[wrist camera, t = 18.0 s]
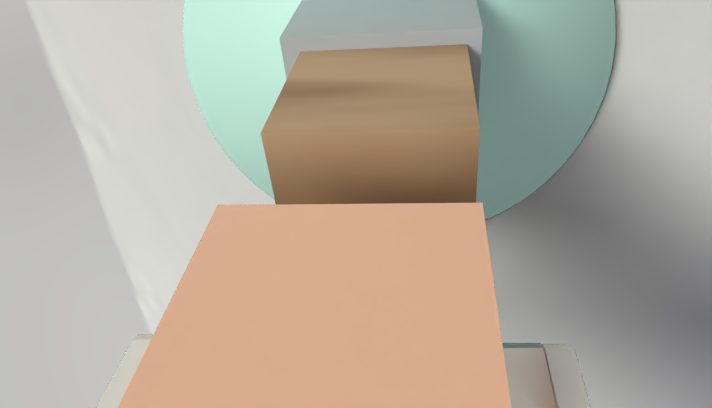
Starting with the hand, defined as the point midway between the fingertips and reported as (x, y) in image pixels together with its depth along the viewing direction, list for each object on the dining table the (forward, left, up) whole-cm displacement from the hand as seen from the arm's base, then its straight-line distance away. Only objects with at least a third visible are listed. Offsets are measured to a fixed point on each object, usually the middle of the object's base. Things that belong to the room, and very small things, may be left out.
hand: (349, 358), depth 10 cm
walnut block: (0, 0, -9) cm, 9 cm away
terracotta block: (0, 0, -2) cm, 2 cm away
